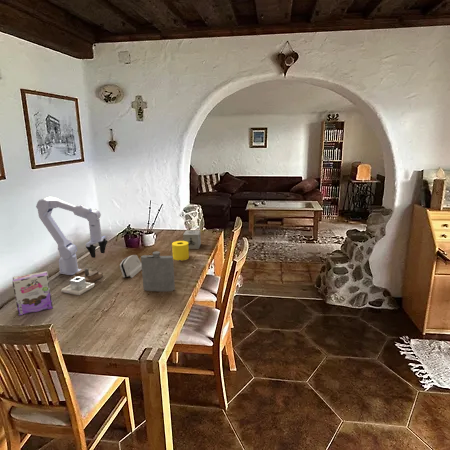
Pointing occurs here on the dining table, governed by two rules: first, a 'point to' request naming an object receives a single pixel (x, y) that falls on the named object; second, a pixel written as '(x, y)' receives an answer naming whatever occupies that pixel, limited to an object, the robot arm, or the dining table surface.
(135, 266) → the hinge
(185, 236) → the icon cube
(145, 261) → the hip flask
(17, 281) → the candy box
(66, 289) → the dish
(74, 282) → the sleeve
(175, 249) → the yellow hollow cylinder
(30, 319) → the dining table surface
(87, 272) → the vise block
